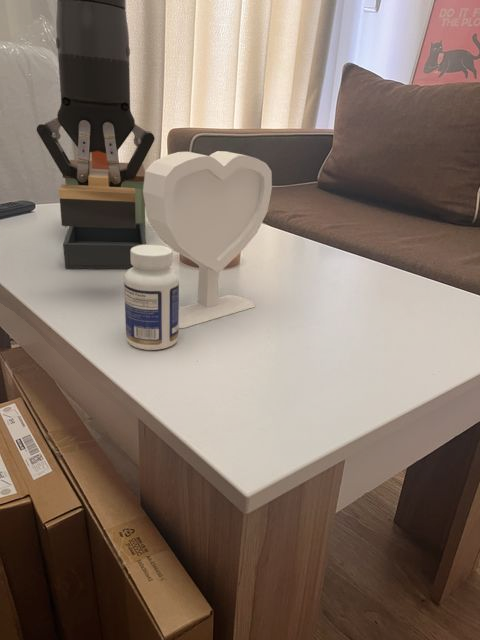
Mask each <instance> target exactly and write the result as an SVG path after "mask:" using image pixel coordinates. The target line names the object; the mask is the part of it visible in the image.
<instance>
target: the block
mask: <svg viewBox="0 0 480 640" xmlns="http://www.w3.org/2000/svg"><path fill="white" fill-rule="evenodd" d="M117 152H118V153H119V149H118V150H117ZM90 156H91V161H92V169H104V170H109V167H108V161H107V154H106V153H103V152H100V151H95V152H90Z"/></svg>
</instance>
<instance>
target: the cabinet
mask: <svg viewBox="0 0 480 640" xmlns="http://www.w3.org/2000/svg"><path fill="white" fill-rule="evenodd" d="M69 161H70V162H71V164H72V165H75V166H77V167H78V159H69ZM128 163H129V162H120V161H119V168H120V169H124V168H126V167H127V165H128ZM91 169H92V160H90V163H89V173H90V170H91ZM145 171H146V169H145V166H144V164H143V163H142V165H141V167H140V169H139V171H138V173H137V175H136V176H135V178H134V179H129V180H126V181H124V182H122V184H121V187H122V188H134V189H135V213H136V223H143V226H144V232H145V237H146V238H147V236H146V235H147V233H146V208H145V202H144V195H143V186H144V178H145ZM62 178H63V179H64V181H65V182H64V183H65V185H78V182H77V180H76V179H74V178H72V177H70V176H64V175H63V174H62ZM109 179H110V174H109Z"/></svg>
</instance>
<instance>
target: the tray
mask: <svg viewBox="0 0 480 640" xmlns="http://www.w3.org/2000/svg"><path fill="white" fill-rule="evenodd" d="M145 232H146V231H145ZM145 232H144V226H143V223H136V228H107V227H77V226H68V228H67V231H66V234H65V238H64V241H63V245H62V248H63V259H64V260H63V261H64V269H65V270H66V269H67V270H68V269H69V270H71V269H73V270H74V269H75V270H76V269H77V270H78V269H79V270H83V269H85V270H86V269H87V270H88V269H89V270H90V269H91V270H93V269H94V270H129V269H130V268H132V267H133V265H132V264H131V252H130V250H131V248H133V247H135V246H139V245H148V244H147V236H146V237H145Z"/></svg>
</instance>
